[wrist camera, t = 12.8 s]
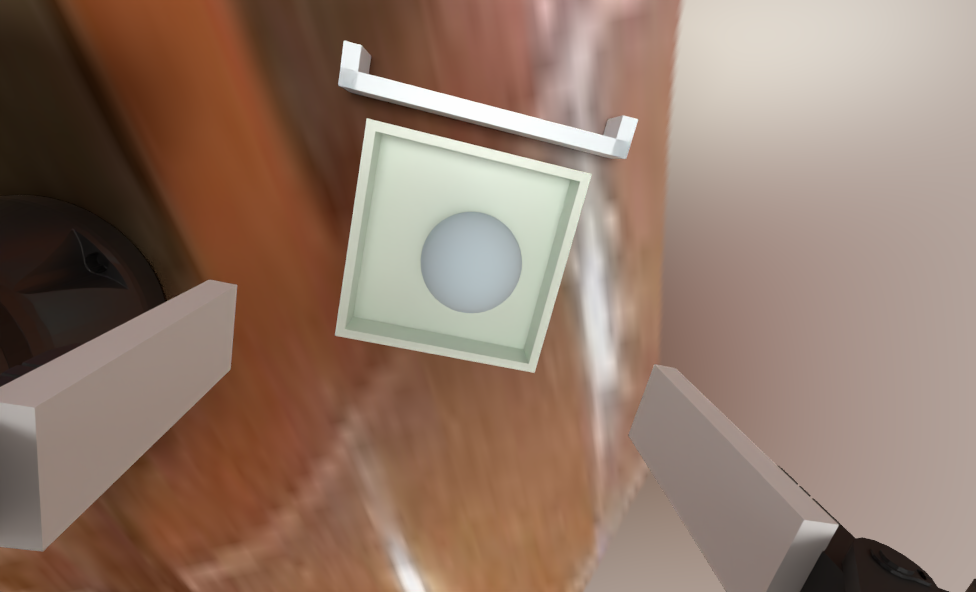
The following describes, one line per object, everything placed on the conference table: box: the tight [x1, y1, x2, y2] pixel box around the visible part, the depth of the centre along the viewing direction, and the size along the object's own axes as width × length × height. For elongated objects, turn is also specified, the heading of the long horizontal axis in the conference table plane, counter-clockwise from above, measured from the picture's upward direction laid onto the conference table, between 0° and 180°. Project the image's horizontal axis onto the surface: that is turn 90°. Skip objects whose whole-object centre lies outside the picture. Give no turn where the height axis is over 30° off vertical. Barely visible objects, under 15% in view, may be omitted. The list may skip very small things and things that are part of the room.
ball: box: [421, 212, 522, 313], centre depth 29 cm, size 6×6×6 cm
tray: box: [335, 118, 592, 373], centre depth 31 cm, size 14×14×3 cm
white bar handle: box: [338, 41, 638, 159], centre depth 28 cm, size 18×2×3 cm, turn 77°
